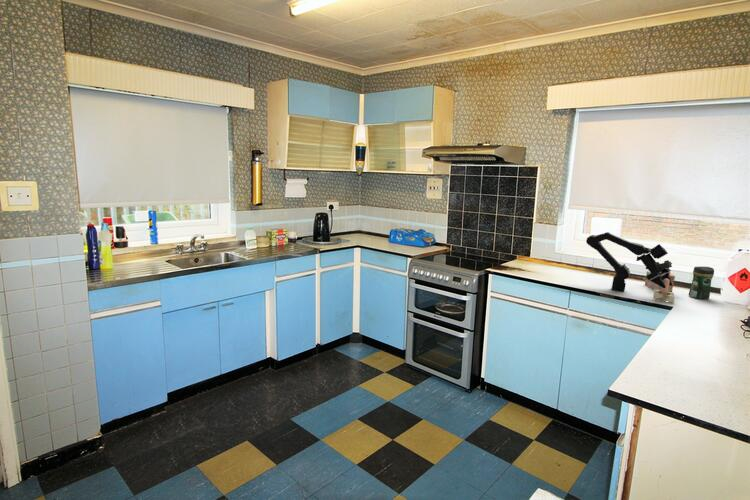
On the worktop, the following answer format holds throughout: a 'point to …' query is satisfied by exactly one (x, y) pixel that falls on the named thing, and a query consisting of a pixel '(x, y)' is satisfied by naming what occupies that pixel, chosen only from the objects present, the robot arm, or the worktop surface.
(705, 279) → the coffee jar
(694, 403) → the worktop surface
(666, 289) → the needle peg
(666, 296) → the bead block
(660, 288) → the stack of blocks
